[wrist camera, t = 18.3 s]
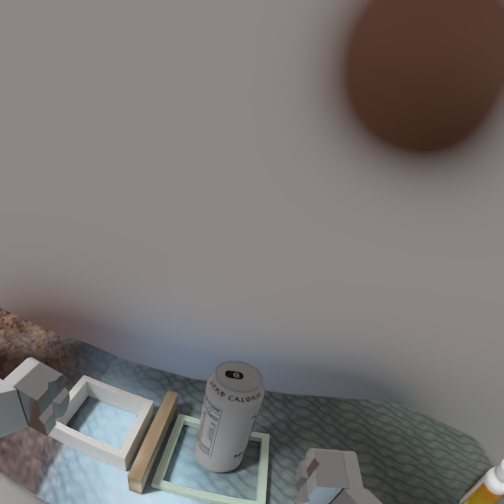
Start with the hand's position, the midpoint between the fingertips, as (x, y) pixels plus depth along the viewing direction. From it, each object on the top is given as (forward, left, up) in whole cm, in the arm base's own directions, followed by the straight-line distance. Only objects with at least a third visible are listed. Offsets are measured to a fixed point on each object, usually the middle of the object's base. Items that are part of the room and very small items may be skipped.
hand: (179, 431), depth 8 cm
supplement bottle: (+41, +10, -27) cm, 50 cm away
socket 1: (-13, +18, -27) cm, 35 cm away
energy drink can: (+2, +19, -27) cm, 33 cm away
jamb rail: (-6, +18, -27) cm, 33 cm away
